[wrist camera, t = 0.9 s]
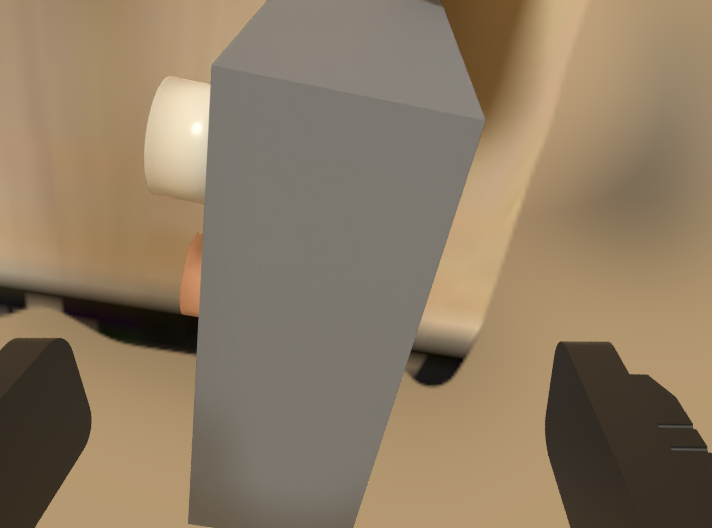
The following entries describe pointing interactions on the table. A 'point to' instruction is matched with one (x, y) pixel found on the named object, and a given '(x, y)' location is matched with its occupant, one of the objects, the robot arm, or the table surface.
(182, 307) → the terracotta button
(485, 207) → the table surface
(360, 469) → the button console
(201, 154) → the cream button
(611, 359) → the robot arm
